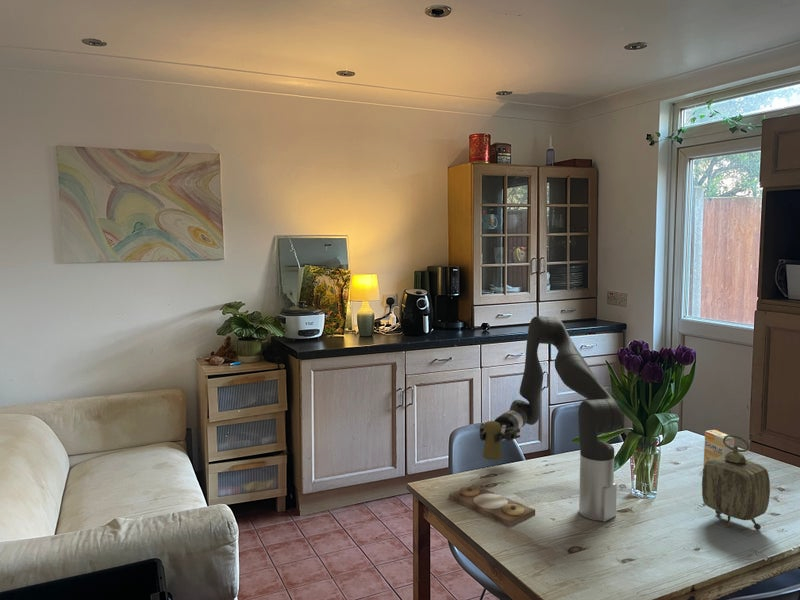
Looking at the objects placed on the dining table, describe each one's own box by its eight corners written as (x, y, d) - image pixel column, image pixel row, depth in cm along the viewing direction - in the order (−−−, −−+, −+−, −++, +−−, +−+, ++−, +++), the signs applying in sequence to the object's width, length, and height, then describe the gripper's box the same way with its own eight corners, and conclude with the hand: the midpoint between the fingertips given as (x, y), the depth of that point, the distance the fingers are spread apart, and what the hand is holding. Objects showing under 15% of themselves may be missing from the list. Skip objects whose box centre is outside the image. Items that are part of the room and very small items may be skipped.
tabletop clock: (768, 531, 159) (772, 440, 157) (749, 540, 154) (753, 446, 152) (715, 511, 171) (718, 426, 169) (696, 518, 167) (700, 431, 164)
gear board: (535, 514, 170) (535, 504, 170) (510, 526, 163) (510, 516, 163) (473, 489, 188) (473, 480, 188) (448, 498, 181) (448, 489, 181)
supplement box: (702, 467, 205) (703, 430, 204) (713, 466, 206) (715, 429, 205) (722, 476, 197) (723, 437, 196) (733, 474, 198) (735, 436, 197)
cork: (500, 452, 189) (500, 419, 188) (503, 459, 183) (503, 424, 182) (481, 453, 189) (481, 419, 188) (484, 460, 183) (484, 425, 182)
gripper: (488, 410, 201) (467, 423, 186) (529, 415, 194) (511, 430, 179) (488, 432, 201) (467, 446, 187) (529, 438, 194) (510, 454, 180)
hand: (489, 438), depth 183 cm, fingers closed on cork, 4 cm apart
